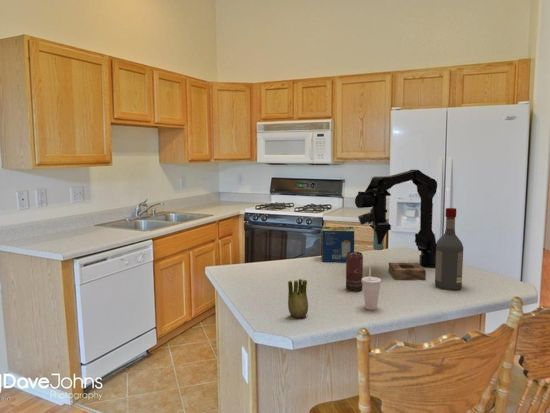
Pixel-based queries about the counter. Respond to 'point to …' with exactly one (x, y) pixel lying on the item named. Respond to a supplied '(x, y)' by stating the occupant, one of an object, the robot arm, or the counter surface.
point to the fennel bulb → (297, 299)
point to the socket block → (407, 271)
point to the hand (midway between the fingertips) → (378, 243)
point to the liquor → (449, 256)
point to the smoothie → (371, 291)
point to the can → (354, 271)
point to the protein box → (337, 243)
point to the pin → (375, 244)
